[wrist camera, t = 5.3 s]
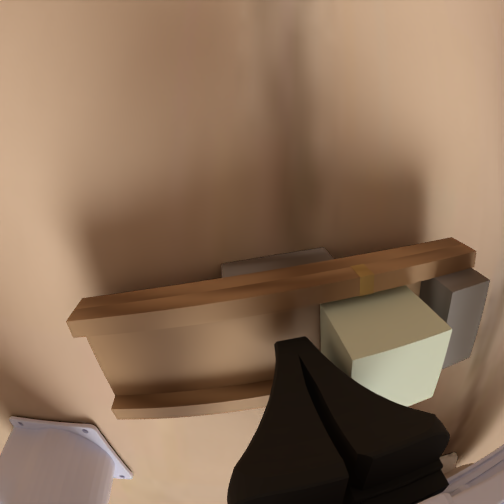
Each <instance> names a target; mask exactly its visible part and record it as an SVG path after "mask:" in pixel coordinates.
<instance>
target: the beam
mask: <svg viewBox="0 0 504 504" xmlns="http://www.w3.org/2000/svg"><path fill="white" fill-rule="evenodd" d="M475 257H476V251H475V250H473V249H472V248H470V247H468V246H466V245H465V244H463V243H461V242H459V241H457V240H456V239H454V238H452V237H451V238H446V239H441V240H436V241H431V242H425V243H420V244H415V245H410V246H404V247H399V248H394V249H388V250H383V251H377V252H372V253H366V254H361V255H355V256H350V257H344V258H338V259H334V258H333V257H332V256H331V255H330V254H329V253H328V251H327V250H326V249H325V248H324V247H322V248H316V249H310V250H304V251H298V252H292V253H286V254H279V255H273V256H267V257H261V258H255V259H248V260H242V261H236V262H230V263H223V264H221V265H222V278H218V279H212V280H205V281H199V282H192V283H186V284H179V285H172V286H166V287H159V288H152V289H145V290H138V291H131V292H124V293H117V294H110V295H103V296H95V297H88V298H82V300H81V301H80V302H79V304H78V305H77V307H76V308H75V309H74V311H73V312H72V314H71V315H70V317H69V318H68V319H67V321H66V322H67V325H68V327H69V329H70V331H71V334H72V336H73V338H75V337H87V340H88V342H89V344H90V346H91V348H92V350H93V353H94V355H95V357H96V359H97V361H98V363H99V365H100V367H101V369H102V371H103V373H104V375H105V377H106V379H107V381H108V383H109V384H110V386H111V388H112V390H113V392H114V394H115V398H114V402H113V405H112V408H111V410H112V411H113V413H114V415H115V416H116V418H117V419H159V418H176V417H190V416H201V415H211V414H220V413H228V412H236V411H243V410H250V409H256V408H262V407H266V406H267V403H268V400H269V396H270V392H271V388H272V383H273V379H274V371H275V362H276V357H275V349H274V344H275V343H276V342H277V341H282V340H287V339H293V338H298V337H303V336H306V337H307V338H308V339H309V340H310V341H311V342H312V343H313V344H314V345H315V347H316V348H317V349H318V350H319V351H320V352H321V327H320V304H322V303H327V302H332V301H337V300H342V299H346V298H351V297H356V296H364V295H368V294H373V293H374V292H378V291H383V290H387V289H391V288H395V287H400V286H404V285H406V286H407V287H408V288H409V289H410V290H411V291H412V292H414V293H415V294H416V295H417V296H418V297H419V298H420V299H421V300H422V301H423V302H424V303H426V304H427V305H428V306H429V307H430V308H431V309H432V310H433V311H434V312H435V313H436V314H437V315H438V316H439V317H440V318H441V319H443V320H444V321H445V322H446V323H447V324H448V325H449V326H450V327H451V328H452V333H451V337H450V341H449V344H448V348H447V352H446V355H445V359H444V362H443V366H442V369H444V368H446V367H449V366H451V365H454V364H456V363H458V362H460V361H463V360H465V359H467V358H469V357H470V354H471V351H472V348H473V345H474V342H475V338H476V335H477V331H478V328H479V324H480V321H481V317H482V313H483V309H484V305H485V301H486V296H487V292H488V287H489V282H490V280H489V279H487V278H486V277H485V276H483V275H482V274H480V273H479V272H477V271H475V270H474V269H472V267H474V264H475ZM442 369H441V370H442Z"/></svg>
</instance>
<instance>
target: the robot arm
mask: <svg viewBox="0 0 504 504" xmlns="http://www.w3.org/2000/svg"><path fill="white" fill-rule="evenodd" d="M274 349H275V357H276V362H275V371H274V379H273V383H272V388H271V392H270V396H269V400H268V403H267V406H266V409H265V412H264V414H263V417H262V419H261V422H260V424H259V426H258V429H257V431H256V433H255V435H254V436H253V438H252V440H251V442H250V444H249V446H248V447H247V449H246V451H245V452H244V454H243V455H242V457H241V458H240V460H239V461H238V463H237V464H236V466H235V467H234V470H233V473H232V476H231V479H230V483H229V488H228V494H227V503H228V504H504V444H503V445H502V446H500V447H499V448H497V449H496V450H495V451H493V452H491V453H490V454H488V455H487V456H485V457H484V458H482V459H481V460H479V461H477V462H476V463H474V464H472V465H471V466H469V467H467V468H465V469H464V470H462V471H460V472H458V473H457V474H455V475H453V476H451V477H449V478H447V479H446V477H445V476H444V474H443V472H442V470H441V469H442V468H443V464H442V462H441V460H440V459H439V458H440V456H441V455H442V453H443V451H444V450H445V448H446V446H447V444H448V441H449V439H450V435H449V433H448V431H447V430H446V428H445V427H444V425H443V424H442V422H441V421H440V420H439V419H438V418H437V417H436V416H435V414H431V413H427V412H423V411H419V410H415V409H412V408H409V407H406V406H403V405H401V404H398V403H395V402H393V401H391V400H389V399H386V398H384V397H382V396H380V395H378V394H376V393H374V392H372V391H371V390H369V389H367V388H366V387H364V386H362V385H361V384H359V383H358V382H356V381H355V380H353V379H352V378H351V377H349V376H348V375H347V374H345V373H344V372H343V371H342V370H340V369H339V368H338V367H337V366H336V365H334V364H333V363H332V362H331V361H330V360H329V359H328V358H327V357H326V356H324V355H323V354H322V353H321V352H320V351H319V350H318V349H317V348H316V347H315V345H314V344H313V343H312V342H311V341H310V340H309V339H308V338H307V337H306V336H303V337H298V338H293V339H287V340H282V341H277V342H276V343H275V344H274ZM9 421H10V422H11V424H12V425H13V426H14V427H13V429H12V431H11V433H10V435H9V437H8V440H7V442H6V444H5V446H4V448H3V450H2V453H1V455H0V504H109V498H110V493H111V487H112V482H113V478H119V479H132V478H133V474H132V473H131V471H130V470H129V469H128V468H127V467H126V465H125V464H124V463H123V462H122V461H121V459H120V458H119V457H118V456H117V454H116V453H115V452H114V450H113V449H112V448H111V446H110V445H109V444H108V442H107V441H106V440H105V438H104V437H103V436H102V434H101V433H100V431H99V430H98V429H97V427H96V426H94V425H92V424H80V423H66V422H54V421H45V420H36V419H28V418H21V417H15V416H11V417H10V418H9Z"/></svg>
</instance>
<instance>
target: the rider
mask: <svg viewBox="0 0 504 504" xmlns="http://www.w3.org/2000/svg"><path fill="white" fill-rule="evenodd" d="M320 327H321V353H322V354H323V355H324V356H326V357H327V358H328V359H329V360H330V361H331V362H332V363H333V364H334V365H336V366H337V367H338V368H339V369H340V370H342V371H343V372H344V373H345V374H347V375H348V376H349V377H351V378H352V379H353V380H355V381H356V382H358V383H359V384H361V385H362V386H364V387H366V388H367V389H369V390H371V391H372V392H374V393H376V394H378V395H380V396H382V397H384V398H386V399H389V400H391V401H393V402H395V403H398V404H401V405H403V406H406V407H408V406H411V405H413V404H416V403H418V402H421V401H423V400H426V399H428V398H431V397H432V396H433V393H434V391H435V388H436V385H437V382H438V379H439V375H440V372H441V369H442V366H443V362H444V359H445V355H446V352H447V348H448V344H449V341H450V337H451V333H452V328H451V327H450V326H449V325H448V324H447V323H446V322H445V321H444V320H443V319H441V318H440V317H439V316H438V315H437V314H436V313H435V312H434V311H433V310H432V309H431V308H430V307H429V306H428V305H427V304H426V303H424V302H423V301H422V300H421V299H420V298H419V297H418V296H417V295H416V294H415V293H414V292H412V291H411V290H410V289H409V288H408V287H407V286H406V285H404V286H400V287H395V288H391V289H387V290H383V291H378V292H374V293H373V294H368V295H364V296H356V297H351V298H346V299H342V300H337V301H332V302H327V303H322V304H320Z"/></svg>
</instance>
